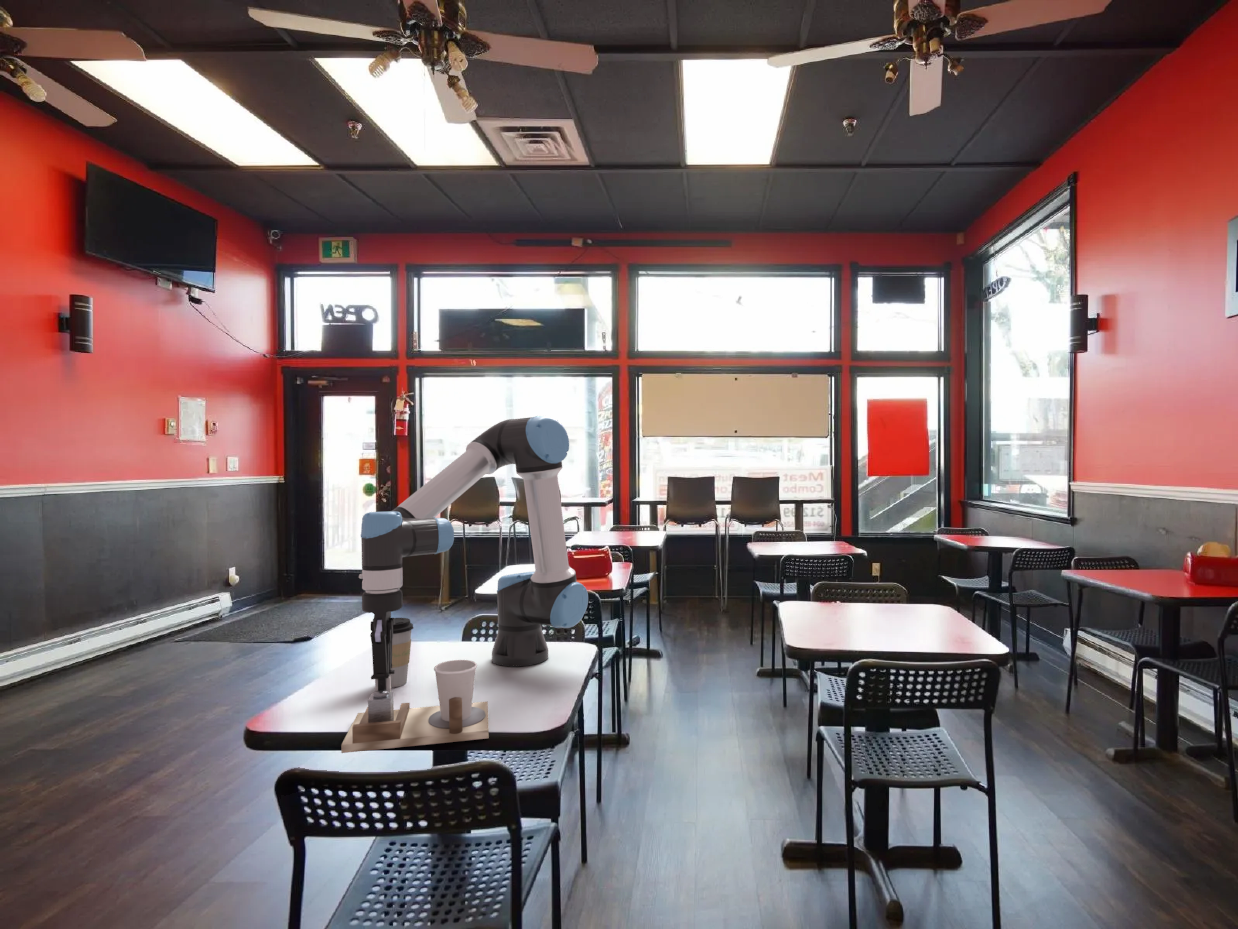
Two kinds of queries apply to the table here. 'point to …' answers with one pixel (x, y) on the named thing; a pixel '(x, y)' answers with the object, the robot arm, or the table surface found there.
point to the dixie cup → (455, 685)
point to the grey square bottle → (381, 706)
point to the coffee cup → (400, 651)
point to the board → (417, 727)
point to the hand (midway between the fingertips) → (383, 710)
